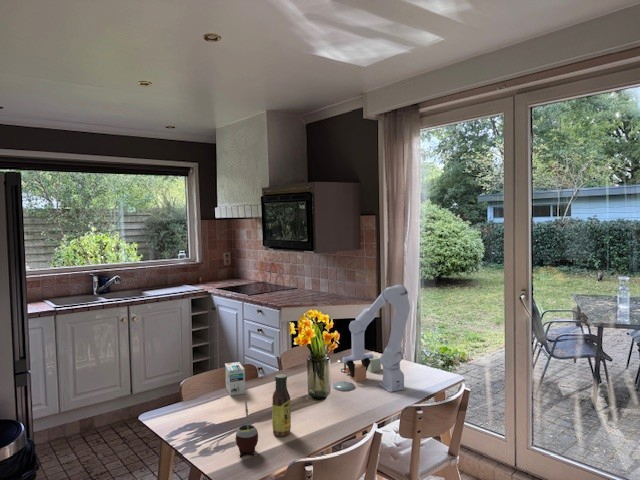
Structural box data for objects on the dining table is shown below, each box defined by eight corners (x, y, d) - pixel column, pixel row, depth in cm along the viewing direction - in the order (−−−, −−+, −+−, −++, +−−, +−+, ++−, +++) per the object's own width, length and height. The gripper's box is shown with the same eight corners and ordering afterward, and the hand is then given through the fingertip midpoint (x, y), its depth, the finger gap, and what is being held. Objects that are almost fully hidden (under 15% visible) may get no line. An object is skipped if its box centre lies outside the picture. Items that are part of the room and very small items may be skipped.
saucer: (357, 388, 199) (357, 387, 199) (338, 392, 195) (338, 390, 195) (348, 381, 207) (348, 380, 207) (330, 385, 204) (330, 383, 204)
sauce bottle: (288, 438, 156) (287, 380, 155) (270, 436, 157) (269, 378, 156) (293, 429, 162) (292, 373, 161) (275, 427, 164) (274, 372, 162)
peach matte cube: (366, 380, 209) (365, 367, 209) (355, 381, 207) (355, 368, 207) (360, 376, 214) (360, 363, 213) (350, 378, 212) (350, 365, 212)
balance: (354, 374, 216) (354, 362, 216) (347, 376, 214) (346, 364, 214) (343, 366, 228) (343, 355, 228) (335, 367, 226) (335, 356, 226)
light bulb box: (245, 393, 195) (245, 368, 195) (229, 396, 193) (229, 370, 192) (240, 385, 205) (239, 361, 205) (225, 387, 203) (224, 363, 202)
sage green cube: (380, 370, 221) (380, 358, 220) (371, 372, 219) (371, 359, 219) (375, 367, 226) (375, 355, 225) (366, 369, 224) (365, 356, 223)
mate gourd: (247, 461, 142) (246, 413, 141) (229, 453, 147) (228, 406, 146) (264, 451, 148) (263, 404, 147) (246, 443, 152) (245, 399, 152)
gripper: (368, 342, 216) (368, 371, 217) (339, 346, 211) (339, 375, 211) (375, 346, 209) (375, 375, 210) (346, 350, 204) (346, 380, 205)
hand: (358, 376), depth 210 cm, fingers closed on peach matte cube, 5 cm apart
